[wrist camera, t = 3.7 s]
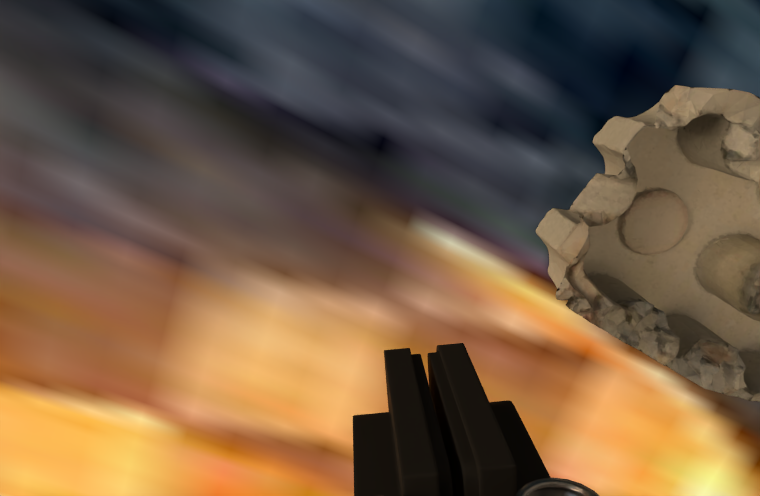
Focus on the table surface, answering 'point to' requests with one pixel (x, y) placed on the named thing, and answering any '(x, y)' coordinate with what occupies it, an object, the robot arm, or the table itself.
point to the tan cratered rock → (672, 237)
